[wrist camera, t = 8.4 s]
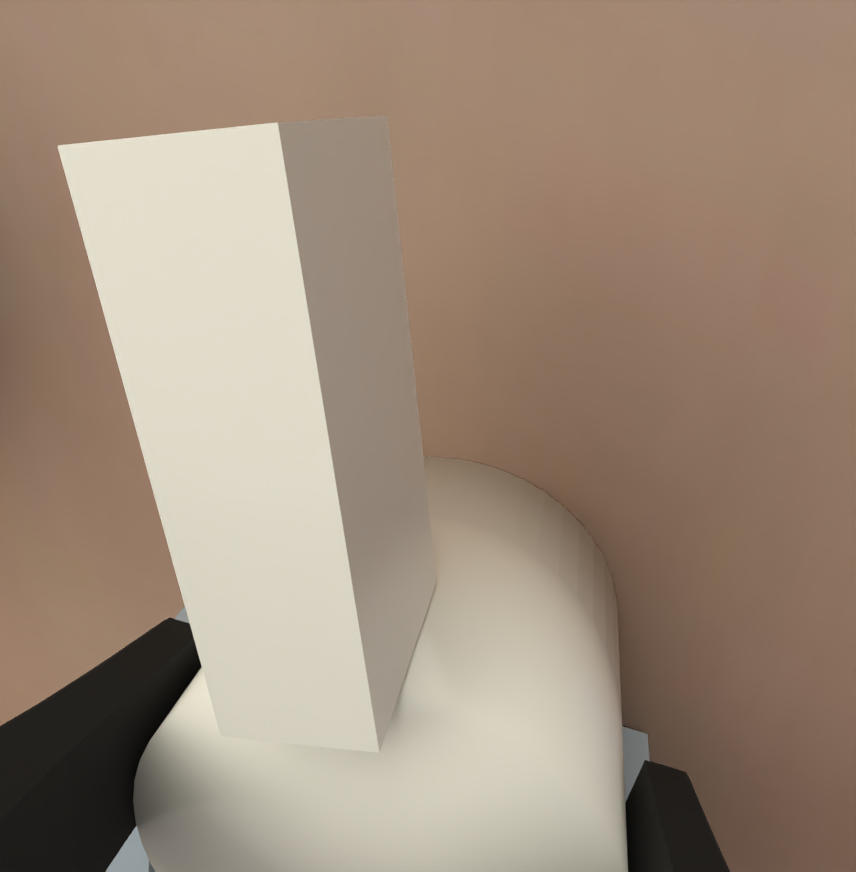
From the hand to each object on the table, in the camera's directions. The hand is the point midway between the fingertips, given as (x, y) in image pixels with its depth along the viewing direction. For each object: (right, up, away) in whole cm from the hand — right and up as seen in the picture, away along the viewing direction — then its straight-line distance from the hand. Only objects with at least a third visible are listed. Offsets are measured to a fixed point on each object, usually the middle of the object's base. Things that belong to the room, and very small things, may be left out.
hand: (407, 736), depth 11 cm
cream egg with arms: (+1, +1, +4) cm, 4 cm away
